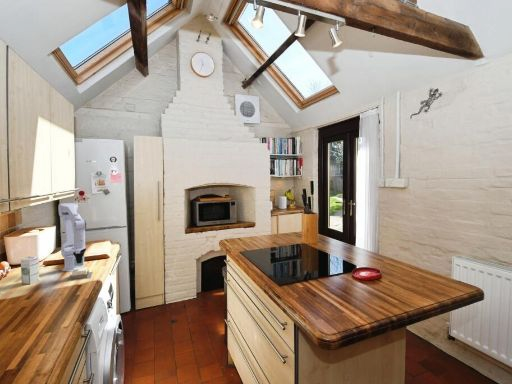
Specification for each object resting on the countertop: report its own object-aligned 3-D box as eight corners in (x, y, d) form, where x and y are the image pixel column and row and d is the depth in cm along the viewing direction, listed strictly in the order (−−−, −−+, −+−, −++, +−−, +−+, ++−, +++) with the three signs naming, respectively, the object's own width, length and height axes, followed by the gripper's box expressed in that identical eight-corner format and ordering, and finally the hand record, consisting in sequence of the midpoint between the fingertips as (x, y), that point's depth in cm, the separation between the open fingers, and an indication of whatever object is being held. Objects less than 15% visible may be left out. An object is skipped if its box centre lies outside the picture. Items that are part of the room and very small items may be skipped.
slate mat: (70, 275, 161) (70, 274, 161) (92, 272, 167) (92, 271, 167) (66, 282, 150) (66, 281, 150) (90, 278, 156) (90, 278, 156)
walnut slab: (73, 275, 160) (73, 271, 160) (88, 273, 164) (88, 269, 164) (71, 279, 153) (71, 276, 153) (87, 277, 157) (87, 274, 157)
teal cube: (75, 264, 159) (75, 257, 159) (84, 263, 161) (84, 256, 161) (74, 266, 155) (74, 259, 155) (83, 265, 157) (83, 258, 157)
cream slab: (74, 271, 160) (74, 268, 160) (87, 270, 163) (87, 266, 163) (72, 275, 154) (72, 272, 154) (86, 273, 157) (86, 270, 157)
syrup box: (39, 280, 152) (39, 256, 151) (30, 284, 146) (29, 259, 146) (31, 280, 153) (30, 255, 152) (21, 284, 147) (20, 259, 146)
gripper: (73, 238, 162) (74, 259, 163) (69, 243, 149) (69, 266, 150) (87, 237, 165) (87, 258, 166) (83, 242, 152) (84, 264, 153)
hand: (79, 262), depth 158 cm, fingers closed on teal cube, 4 cm apart
